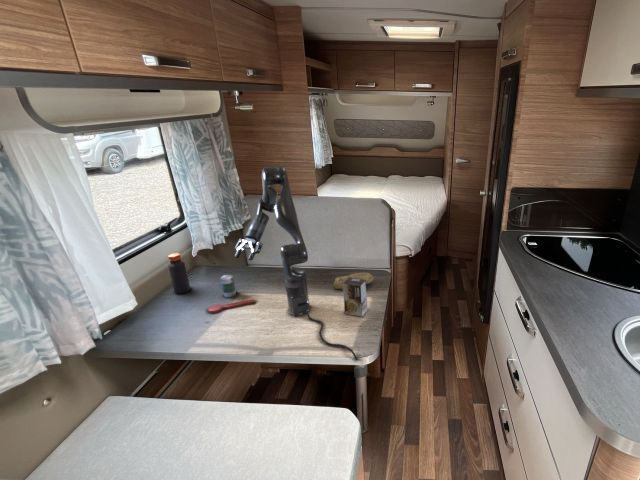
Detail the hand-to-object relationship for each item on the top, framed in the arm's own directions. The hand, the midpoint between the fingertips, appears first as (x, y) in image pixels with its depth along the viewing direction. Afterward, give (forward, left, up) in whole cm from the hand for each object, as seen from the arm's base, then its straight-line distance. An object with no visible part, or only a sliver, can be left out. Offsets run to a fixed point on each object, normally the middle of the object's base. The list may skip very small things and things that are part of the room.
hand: (243, 258), depth 175 cm
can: (-8, +8, -15) cm, 19 cm away
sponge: (-25, -52, -15) cm, 59 cm away
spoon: (-20, +7, -15) cm, 26 cm away
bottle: (+6, +30, -15) cm, 34 cm away
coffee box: (-48, -46, -15) cm, 68 cm away
